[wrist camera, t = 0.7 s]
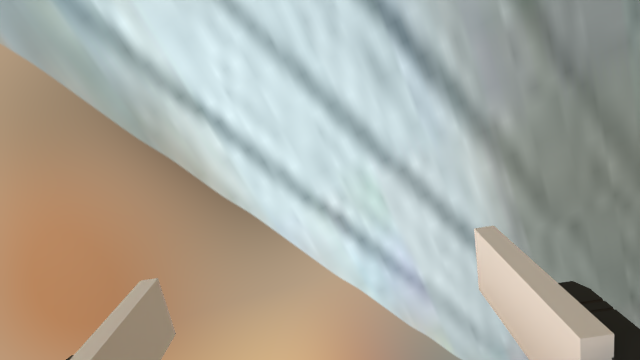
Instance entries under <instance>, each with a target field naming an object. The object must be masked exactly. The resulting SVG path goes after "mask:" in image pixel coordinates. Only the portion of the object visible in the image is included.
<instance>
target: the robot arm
mask: <svg viewBox="0 0 640 360" xmlns="http://www.w3.org/2000/svg"><path fill="white" fill-rule="evenodd" d="M474 231H475V244H476V257H477V270H478V283H479V290H480V291H481V293H482V294H483V296H484V297H485V298H486V300H487V301H488V303H489V304H490V305H491V307H492V308H493V310H494V311H495V312H496V314H497V315H498V317H499V318H500V319H501V321H502V322H503V324H504V325H505V326H506V328H507V329H508V331H509V332H510V333H511V335H512V336H513V338H514V339H515V340H516V342H517V343H518V345H519V346H520V347H521V349H522V350H523V352H524V353H525V354H526V356H527V357H528V359H529V360H640V329H639V328H638V327H636V326H635V325H634V324H633V323H631V322H630V321H629V320H628V319H627V318H625V317H624V316H623V315H622V314H620V313H619V312H618V311H617V310H614V309H613V307H612V306H611V305H609V304H608V303H607V302H606V301H603V299H602V298H601V297H599V296H598V295H597V294H596V293H595V292H593V291H592V290H591V289H589V288H587V287H585V286H582V285H580V284H578V283H576V282H573V281H570V282H563V283H557V282H556V281H555V280H554V279H553V278H551V277H550V276H549V275H548V274H547V273H546V272H545V271H544V270H542V269H541V268H540V267H539V266H538V265H537V264H536V263H535V262H534V261H532V260H531V259H530V258H529V257H528V256H527V255H526V254H525V253H524V252H522V251H521V250H520V249H519V248H518V247H517V246H516V245H515V244H514V243H512V242H511V241H510V240H509V239H508V238H507V237H506V236H505V235H504V234H502V233H501V232H500V231H499V230H498V229H497V228H496V227H495V226H488V227H482V228H476V229H474ZM175 334H176V333H175V330H174V327H173V324H172V321H171V318H170V315H169V311H168V308H167V305H166V302H165V299H164V296H163V293H162V290H161V286H160V283H159V280H158V278H156V279H149V280H143V281H140V282H139V283H138V284H137V285H136V287H135V288H134V289H133V290H132V291H131V292H130V293H129V294H128V295H127V296H126V298H125V299H124V300H123V301H122V302H121V303H120V304H119V305H118V307H117V308H116V309H115V310H114V311H113V312H112V313H111V314H110V315H109V317H108V318H107V319H106V320H105V321H104V322H103V323H102V324H101V325H100V327H99V328H98V329H97V330H96V331H95V332H94V333H93V334H92V336H91V337H90V338H89V339H88V340H87V341H86V342H85V343H84V345H83V346H82V347H81V348H80V349H79V350H78V351H77V352H76V353H75V355H72V356H70V357H69V358H68V359H66V360H161V359H162V357H163V355H164V353H165V352H166V350H167V348H168V347H169V345H170V343H171V341H172V340H173V338H174V336H175Z"/></svg>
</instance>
